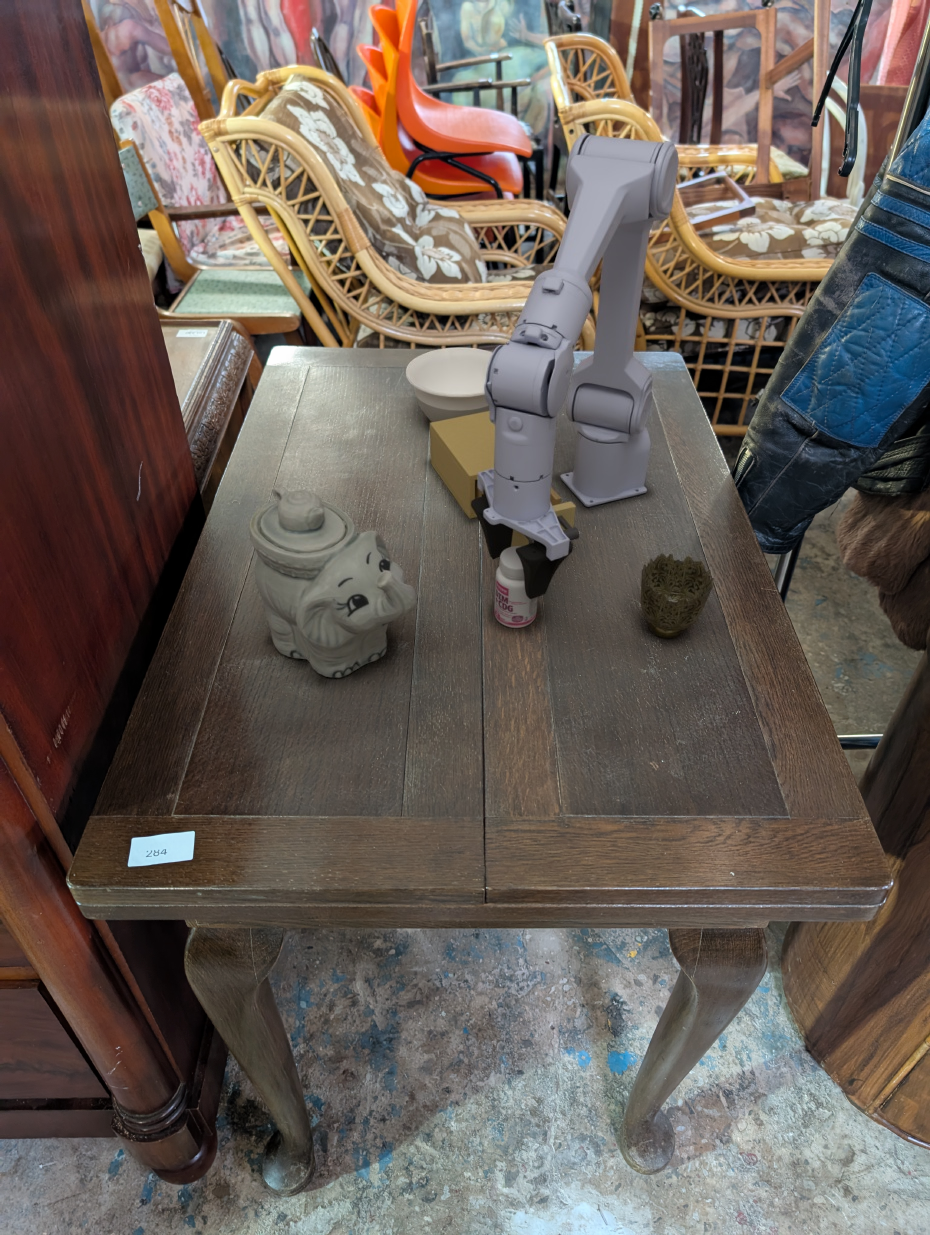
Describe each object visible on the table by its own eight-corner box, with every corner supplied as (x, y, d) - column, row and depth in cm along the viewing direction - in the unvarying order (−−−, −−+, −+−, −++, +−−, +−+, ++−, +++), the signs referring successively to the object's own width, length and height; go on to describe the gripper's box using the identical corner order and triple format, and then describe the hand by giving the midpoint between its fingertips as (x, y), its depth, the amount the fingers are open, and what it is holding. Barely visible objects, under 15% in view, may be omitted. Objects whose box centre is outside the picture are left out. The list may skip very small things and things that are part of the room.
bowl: (419, 454, 116) (416, 400, 110) (400, 403, 127) (396, 352, 121) (523, 441, 119) (526, 388, 113) (495, 392, 130) (497, 342, 124)
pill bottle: (488, 623, 89) (489, 564, 84) (502, 597, 93) (504, 539, 87) (528, 633, 88) (532, 575, 82) (541, 607, 91) (546, 549, 86)
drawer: (589, 557, 97) (593, 525, 93) (518, 576, 94) (520, 543, 91) (526, 482, 109) (528, 452, 105) (463, 497, 106) (462, 466, 103)
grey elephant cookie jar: (423, 693, 82) (415, 548, 69) (275, 719, 79) (238, 573, 66) (397, 591, 93) (386, 451, 81) (267, 610, 91) (234, 469, 78)
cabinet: (542, 501, 107) (545, 459, 102) (469, 519, 104) (469, 476, 100) (498, 449, 117) (499, 408, 112) (431, 463, 114) (429, 422, 110)
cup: (703, 615, 90) (718, 560, 85) (695, 659, 85) (710, 604, 80) (637, 601, 92) (648, 546, 87) (625, 643, 87) (636, 588, 81)
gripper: (451, 443, 80) (453, 549, 90) (528, 516, 71) (521, 626, 80) (511, 426, 83) (507, 531, 92) (592, 494, 73) (578, 604, 83)
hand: (517, 574), depth 86 cm, fingers open, 7 cm apart
